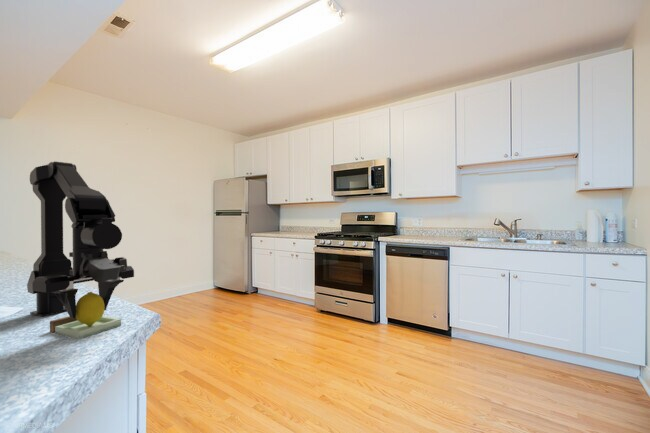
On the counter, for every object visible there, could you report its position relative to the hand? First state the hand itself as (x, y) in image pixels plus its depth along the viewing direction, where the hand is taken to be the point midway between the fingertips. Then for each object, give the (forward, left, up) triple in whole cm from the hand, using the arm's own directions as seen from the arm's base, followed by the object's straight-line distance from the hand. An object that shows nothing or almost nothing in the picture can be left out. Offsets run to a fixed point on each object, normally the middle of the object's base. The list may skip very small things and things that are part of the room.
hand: (88, 314), depth 73 cm
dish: (0, 0, -4) cm, 4 cm away
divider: (-6, +1, -4) cm, 7 cm away
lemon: (0, 0, -3) cm, 3 cm away
